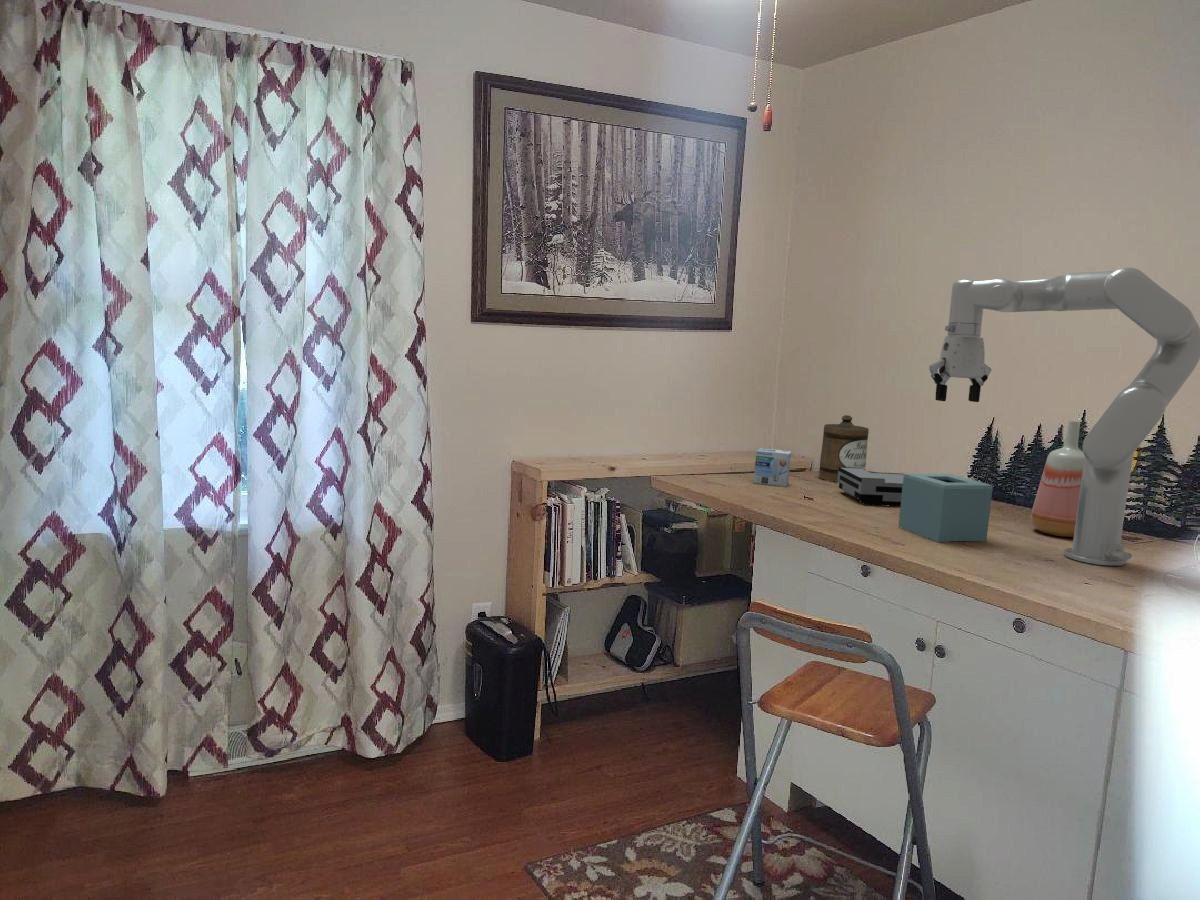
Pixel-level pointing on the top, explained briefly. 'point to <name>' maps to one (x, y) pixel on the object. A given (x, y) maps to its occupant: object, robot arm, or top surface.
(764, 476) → the light bulb box
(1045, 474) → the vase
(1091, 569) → the top surface
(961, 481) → the drop box
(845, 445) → the wooden container
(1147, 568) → the top surface
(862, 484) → the game console
